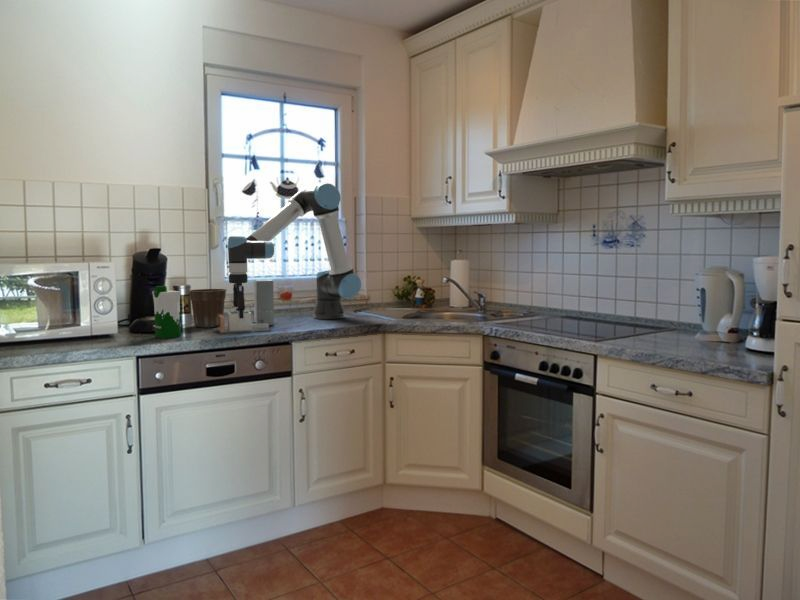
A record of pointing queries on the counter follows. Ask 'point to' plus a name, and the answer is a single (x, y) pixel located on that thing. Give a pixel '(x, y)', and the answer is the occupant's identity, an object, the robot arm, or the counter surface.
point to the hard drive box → (263, 301)
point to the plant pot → (207, 306)
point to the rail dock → (255, 328)
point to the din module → (234, 321)
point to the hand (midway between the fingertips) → (239, 324)
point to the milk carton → (166, 313)
